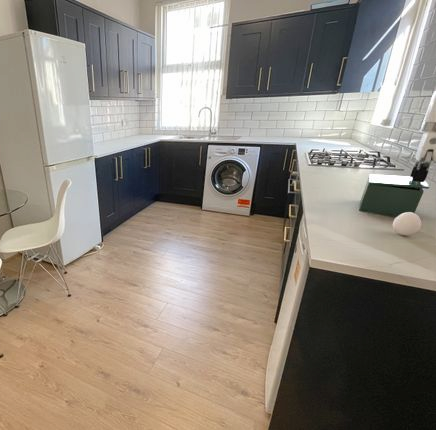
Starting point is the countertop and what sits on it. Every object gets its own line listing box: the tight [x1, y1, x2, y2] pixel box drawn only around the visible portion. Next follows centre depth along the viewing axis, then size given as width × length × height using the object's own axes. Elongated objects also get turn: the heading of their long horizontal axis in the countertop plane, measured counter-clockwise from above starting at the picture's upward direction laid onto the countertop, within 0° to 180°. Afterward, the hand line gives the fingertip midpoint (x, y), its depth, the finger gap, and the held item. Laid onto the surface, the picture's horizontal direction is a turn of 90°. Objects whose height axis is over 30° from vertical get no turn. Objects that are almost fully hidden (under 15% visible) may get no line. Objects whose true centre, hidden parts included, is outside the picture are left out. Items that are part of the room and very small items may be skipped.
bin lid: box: [368, 169, 430, 190], centre depth 104 cm, size 15×16×5 cm
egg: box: [392, 212, 422, 236], centre depth 88 cm, size 6×6×8 cm
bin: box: [358, 177, 424, 218], centre depth 108 cm, size 15×16×11 cm
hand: (416, 179), depth 101 cm, fingers closed on bin lid, 6 cm apart
